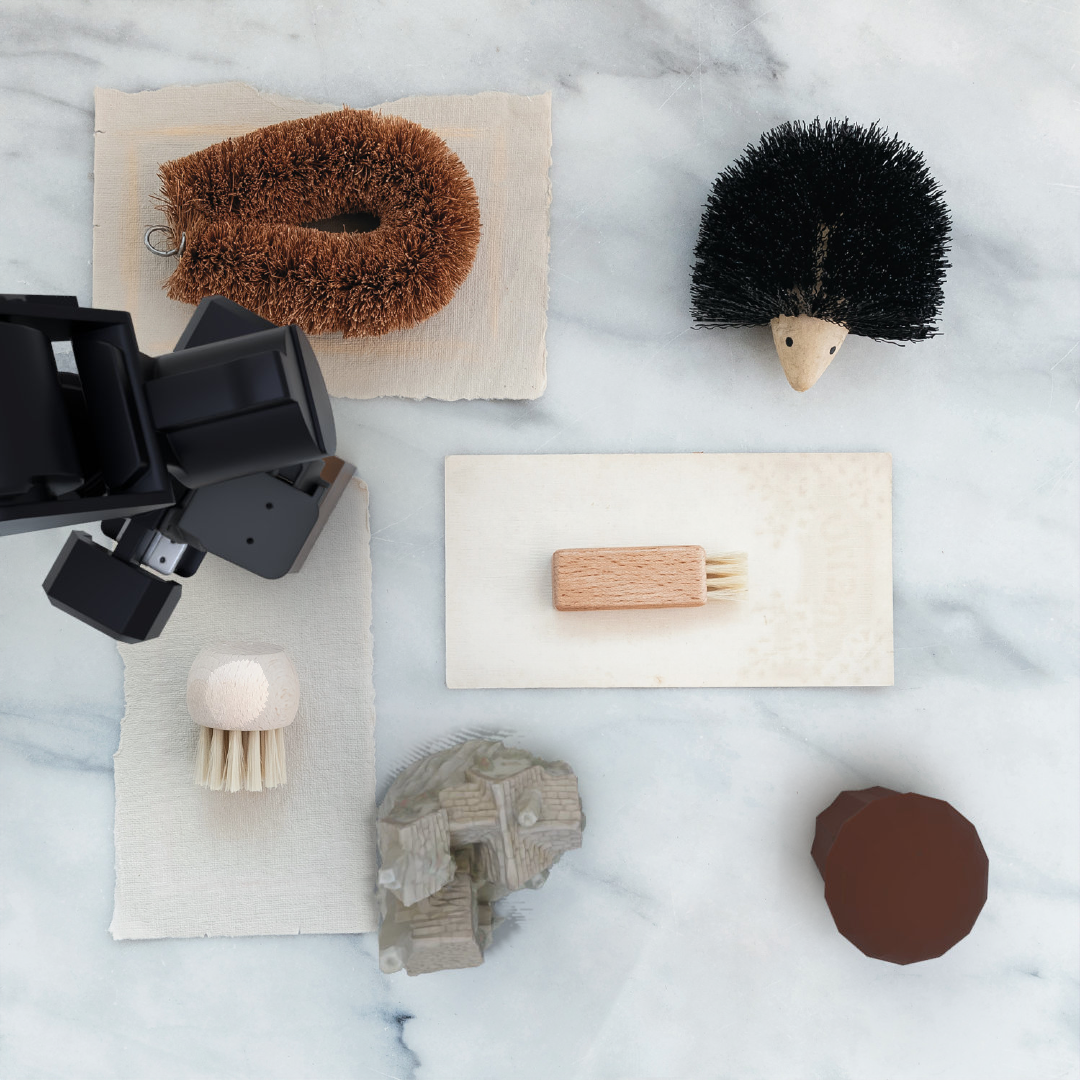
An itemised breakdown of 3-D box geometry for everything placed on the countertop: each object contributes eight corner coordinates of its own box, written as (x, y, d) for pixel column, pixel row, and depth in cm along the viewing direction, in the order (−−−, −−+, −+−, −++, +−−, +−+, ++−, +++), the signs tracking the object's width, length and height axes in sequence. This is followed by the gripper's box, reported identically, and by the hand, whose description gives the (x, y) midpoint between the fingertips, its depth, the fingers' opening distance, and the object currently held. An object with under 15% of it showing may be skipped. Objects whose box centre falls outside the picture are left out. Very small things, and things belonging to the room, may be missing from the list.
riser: (197, 515, 64) (169, 512, 59) (255, 411, 64) (232, 399, 59) (302, 572, 64) (282, 574, 59) (360, 468, 64) (345, 461, 59)
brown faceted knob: (839, 741, 64) (896, 777, 54) (967, 808, 64) (1049, 856, 54) (767, 880, 64) (811, 942, 54) (896, 948, 64) (964, 1022, 54)
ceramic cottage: (365, 946, 63) (331, 1060, 48) (384, 725, 64) (358, 770, 49) (571, 956, 64) (601, 1070, 49) (587, 739, 65) (622, 786, 50)
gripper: (169, 719, 38) (273, 670, 54) (367, 361, 39) (414, 415, 54) (-47, 601, 38) (120, 586, 54) (154, 244, 39) (262, 332, 54)
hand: (233, 482), depth 54 cm, fingers closed on boat, 3 cm apart
